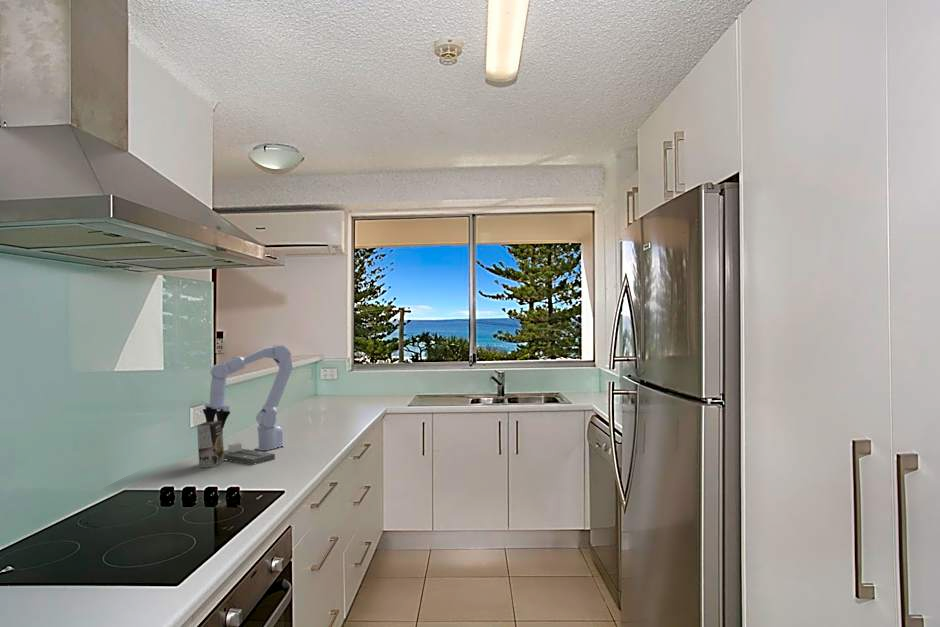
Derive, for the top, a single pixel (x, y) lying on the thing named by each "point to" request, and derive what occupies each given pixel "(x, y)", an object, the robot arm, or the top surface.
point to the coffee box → (210, 444)
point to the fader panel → (248, 456)
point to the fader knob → (234, 447)
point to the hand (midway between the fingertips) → (215, 427)
